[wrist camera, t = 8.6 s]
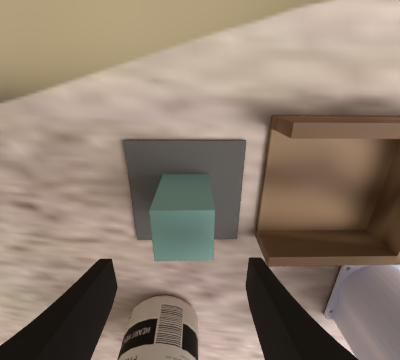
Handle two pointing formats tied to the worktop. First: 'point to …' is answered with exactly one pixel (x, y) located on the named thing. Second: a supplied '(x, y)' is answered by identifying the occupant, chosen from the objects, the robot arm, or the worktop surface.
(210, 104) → the worktop surface
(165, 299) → the supplement can
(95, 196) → the worktop surface
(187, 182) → the block
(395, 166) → the walnut box
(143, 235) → the slate mat
